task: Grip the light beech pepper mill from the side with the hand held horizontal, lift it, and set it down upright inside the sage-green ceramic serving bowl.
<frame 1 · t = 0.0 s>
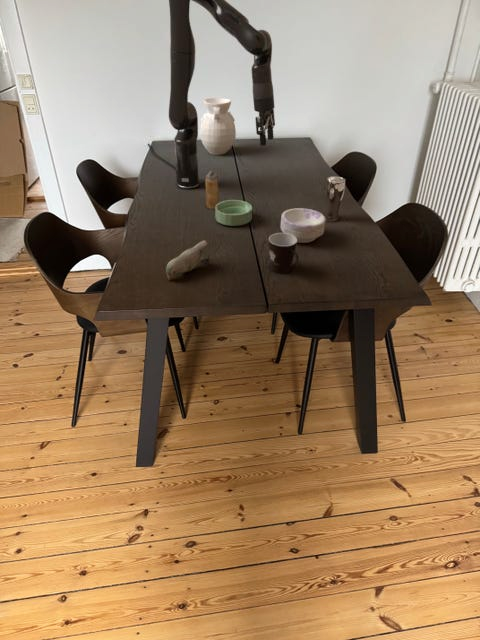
hand: (267, 142, 166), 22 cm above the table, tool pointing down, fingers open, 8 cm apart
decorative bird: (188, 271, 134), on the table
paper bowls: (301, 237, 152), on the table
pepper mill: (212, 206, 172), on the table
coffee mug: (281, 270, 134), on the table
pitcher: (218, 152, 228), on the table
serving bowl: (233, 219, 163), on the table
beer glass: (330, 218, 164), on the table
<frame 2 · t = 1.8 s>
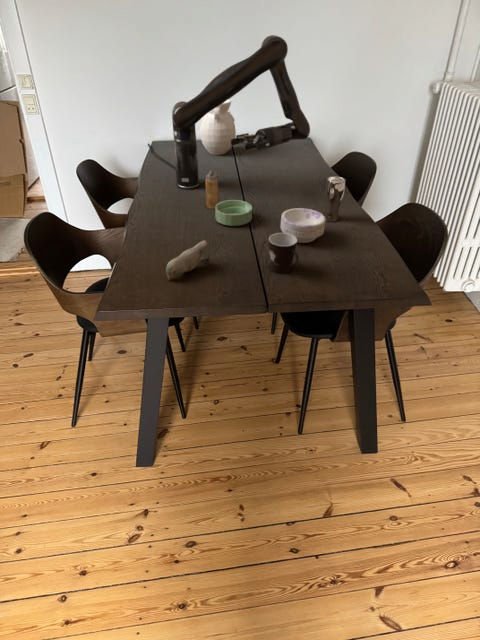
hand: (238, 144, 165), 22 cm above the table, tool horizontal, fingers open, 8 cm apart
nothing on the table moved.
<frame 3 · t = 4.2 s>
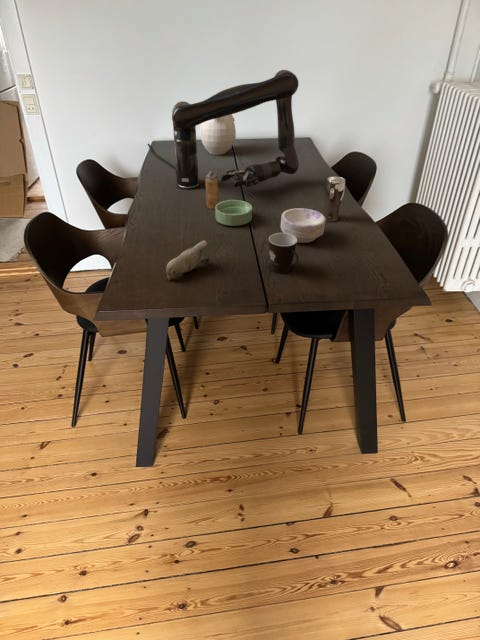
hand: (228, 181, 171), 8 cm above the table, tool horizontal, fingers open, 8 cm apart
nothing on the table moved.
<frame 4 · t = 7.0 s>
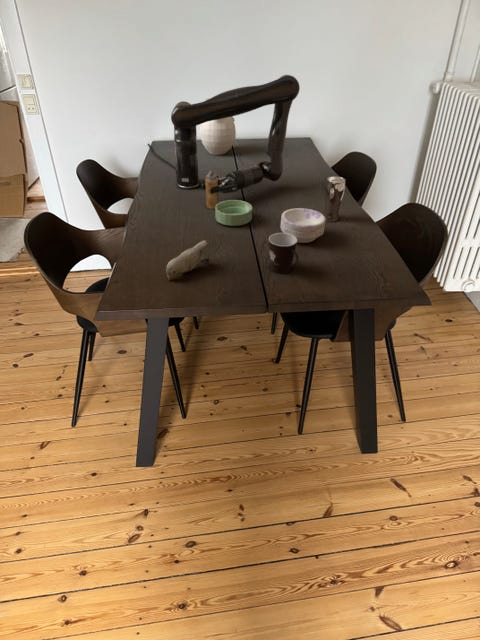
hand: (206, 188, 166), 8 cm above the table, tool horizontal, fingers closed on pepper mill, 5 cm apart
pepper mill: (212, 206, 172), on the table, touching gripper
everything else where it was.
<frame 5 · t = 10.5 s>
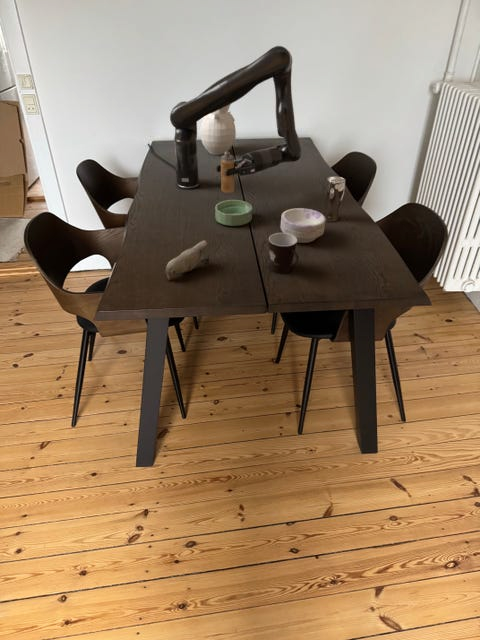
hand: (221, 171, 153), 18 cm above the table, tool horizontal, fingers closed on pepper mill, 5 cm apart
pepper mill: (227, 190, 159), point 10 cm above the table, touching gripper
everything else where it was.
when the fingers open (9 cm above the table, at t = 14.1 s): pepper mill stays where it is, resting on serving bowl.
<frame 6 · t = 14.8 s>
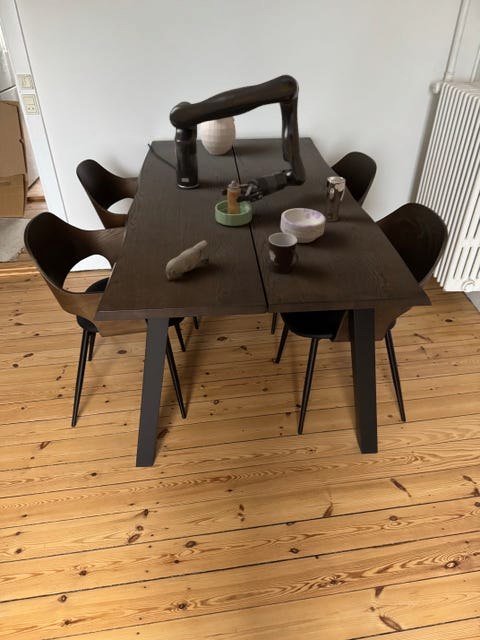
hand: (229, 196, 156), 10 cm above the table, tool horizontal, fingers open, 8 cm apart
pepper mill: (234, 217, 162), point 1 cm above the table, touching serving bowl
everything else where it was.
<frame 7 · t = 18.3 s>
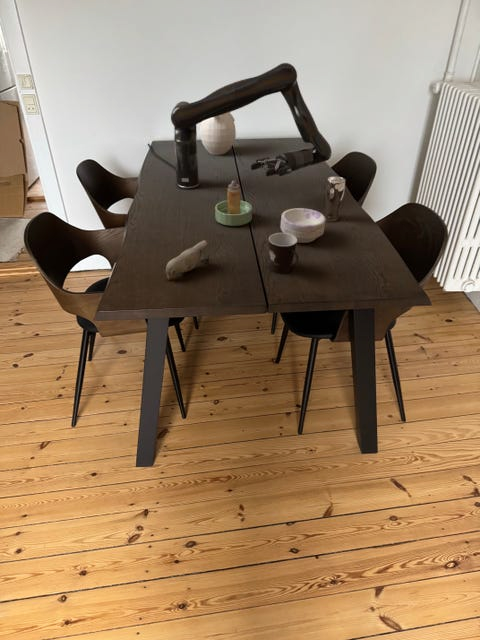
hand: (258, 170, 159), 16 cm above the table, tool horizontal, fingers open, 8 cm apart
nothing on the table moved.
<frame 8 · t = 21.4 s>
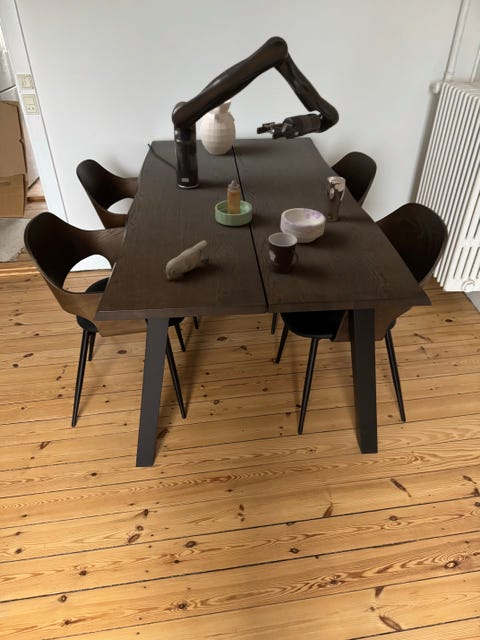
hand: (265, 133, 155), 28 cm above the table, tool horizontal, fingers open, 8 cm apart
nothing on the table moved.
at the end: pepper mill inside the target area in the serving bowl (0.2 cm from its centre), point 0.8 cm above the serving bowl's base; pepper mill tilted 0°; the gripper is holding nothing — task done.
